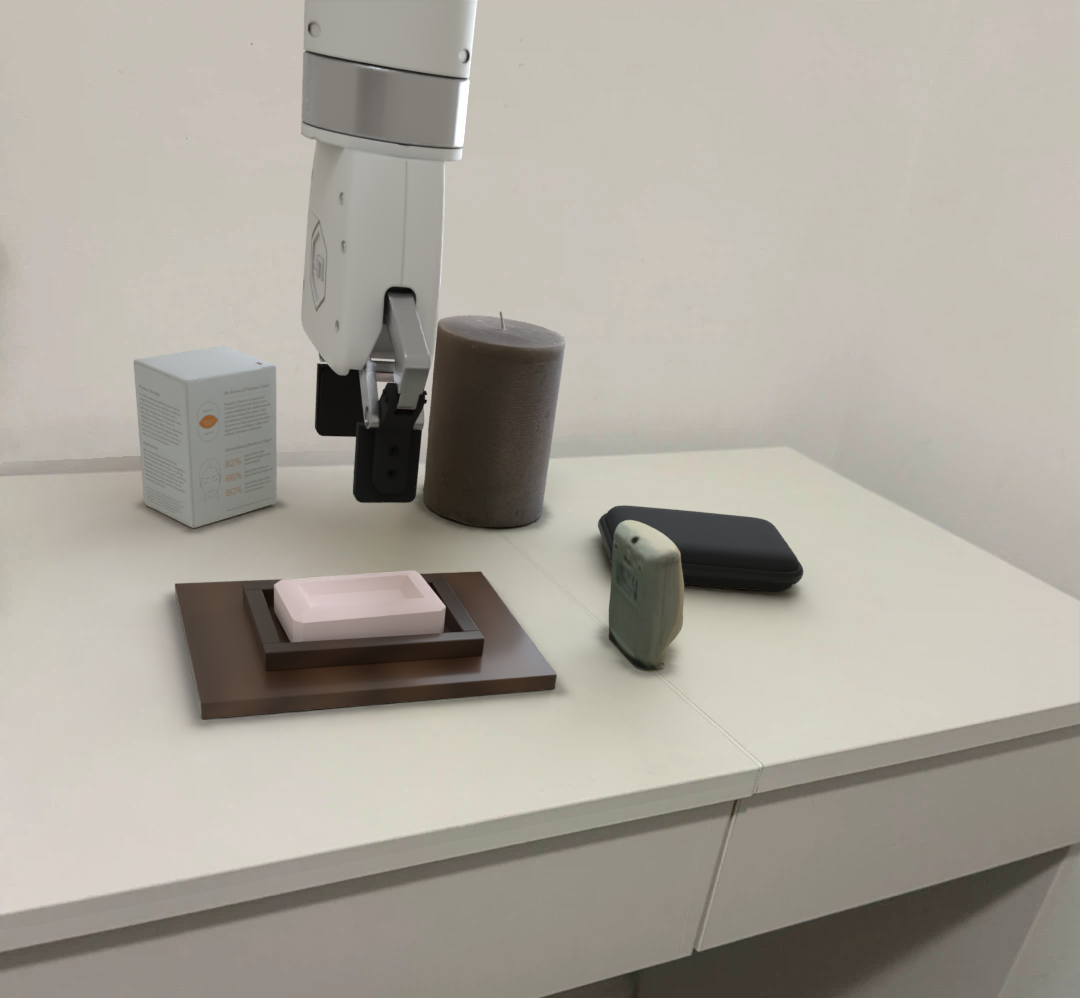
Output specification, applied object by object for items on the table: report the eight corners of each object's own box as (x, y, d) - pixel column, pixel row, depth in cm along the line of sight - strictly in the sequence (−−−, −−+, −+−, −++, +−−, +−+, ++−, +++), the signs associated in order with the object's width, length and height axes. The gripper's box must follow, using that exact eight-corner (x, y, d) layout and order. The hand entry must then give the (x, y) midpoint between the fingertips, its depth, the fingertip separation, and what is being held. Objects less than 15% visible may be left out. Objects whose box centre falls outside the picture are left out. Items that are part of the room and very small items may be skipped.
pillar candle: (454, 533, 80) (474, 328, 72) (404, 486, 87) (416, 294, 79) (564, 523, 84) (594, 329, 77) (508, 479, 91) (530, 297, 83)
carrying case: (765, 542, 87) (589, 526, 85) (774, 507, 85) (595, 490, 83) (804, 601, 78) (609, 585, 76) (815, 563, 76) (616, 546, 74)
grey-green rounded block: (572, 645, 67) (592, 527, 63) (614, 620, 71) (636, 508, 67) (649, 679, 65) (675, 560, 61) (689, 651, 69) (716, 537, 65)
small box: (229, 482, 82) (225, 343, 77) (279, 505, 80) (279, 363, 74) (141, 505, 77) (130, 357, 71) (191, 530, 74) (185, 379, 69)
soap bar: (272, 612, 64) (272, 575, 62) (415, 600, 67) (418, 565, 66) (294, 656, 60) (295, 617, 58) (445, 641, 64) (449, 604, 62)
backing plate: (201, 719, 55) (199, 683, 54) (175, 597, 66) (173, 565, 64) (554, 689, 62) (560, 657, 61) (479, 584, 73) (483, 555, 72)
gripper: (271, 82, 54) (266, 411, 63) (345, 124, 41) (326, 531, 50) (412, 103, 57) (389, 415, 66) (524, 148, 44) (475, 530, 53)
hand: (362, 465), depth 58 cm, fingers open, 9 cm apart
